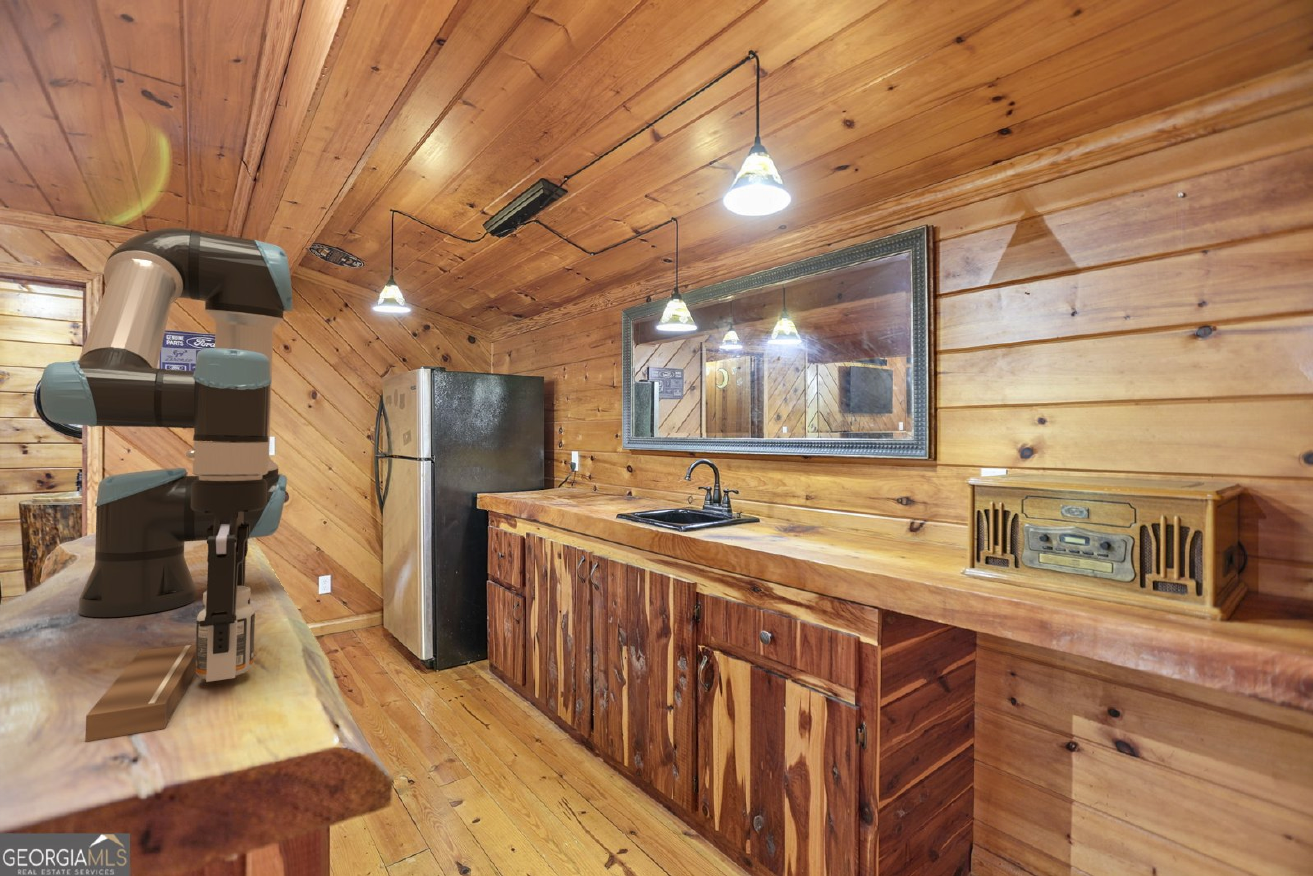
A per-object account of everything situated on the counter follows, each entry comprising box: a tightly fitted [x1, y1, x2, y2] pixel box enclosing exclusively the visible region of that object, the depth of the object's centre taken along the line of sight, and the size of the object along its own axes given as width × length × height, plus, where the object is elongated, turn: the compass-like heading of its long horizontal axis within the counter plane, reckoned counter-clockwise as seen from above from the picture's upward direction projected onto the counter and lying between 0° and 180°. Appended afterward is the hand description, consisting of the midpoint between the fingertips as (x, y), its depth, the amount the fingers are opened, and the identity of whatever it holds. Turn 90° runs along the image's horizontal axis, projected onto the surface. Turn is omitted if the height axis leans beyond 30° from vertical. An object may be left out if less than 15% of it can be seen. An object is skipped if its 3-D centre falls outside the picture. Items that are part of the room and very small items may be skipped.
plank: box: [84, 643, 196, 743], centre depth 68 cm, size 20×6×3 cm, turn 29°
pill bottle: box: [195, 585, 256, 680], centre depth 73 cm, size 6×6×10 cm
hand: (225, 669), depth 73 cm, fingers closed on pill bottle, 6 cm apart
